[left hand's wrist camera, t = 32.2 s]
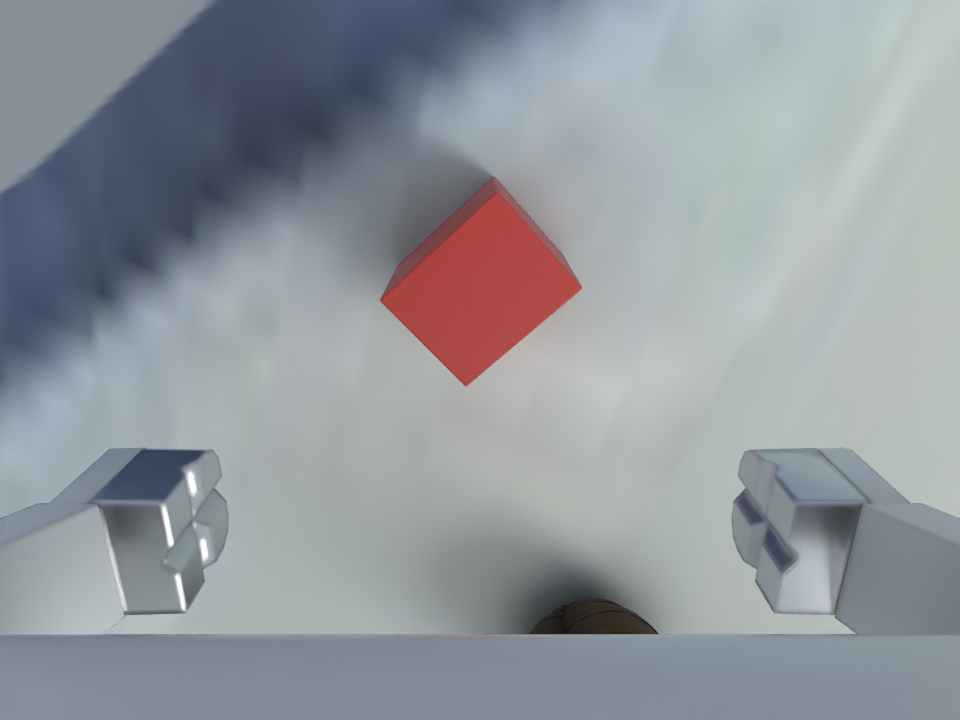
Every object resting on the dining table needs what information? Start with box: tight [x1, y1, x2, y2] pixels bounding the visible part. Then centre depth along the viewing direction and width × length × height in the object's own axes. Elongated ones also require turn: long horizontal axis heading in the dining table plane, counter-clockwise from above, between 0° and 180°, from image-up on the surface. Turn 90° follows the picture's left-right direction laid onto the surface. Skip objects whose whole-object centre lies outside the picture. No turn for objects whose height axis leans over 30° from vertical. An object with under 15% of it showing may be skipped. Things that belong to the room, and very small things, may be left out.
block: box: [380, 177, 582, 386], centre depth 23 cm, size 4×5×5 cm
